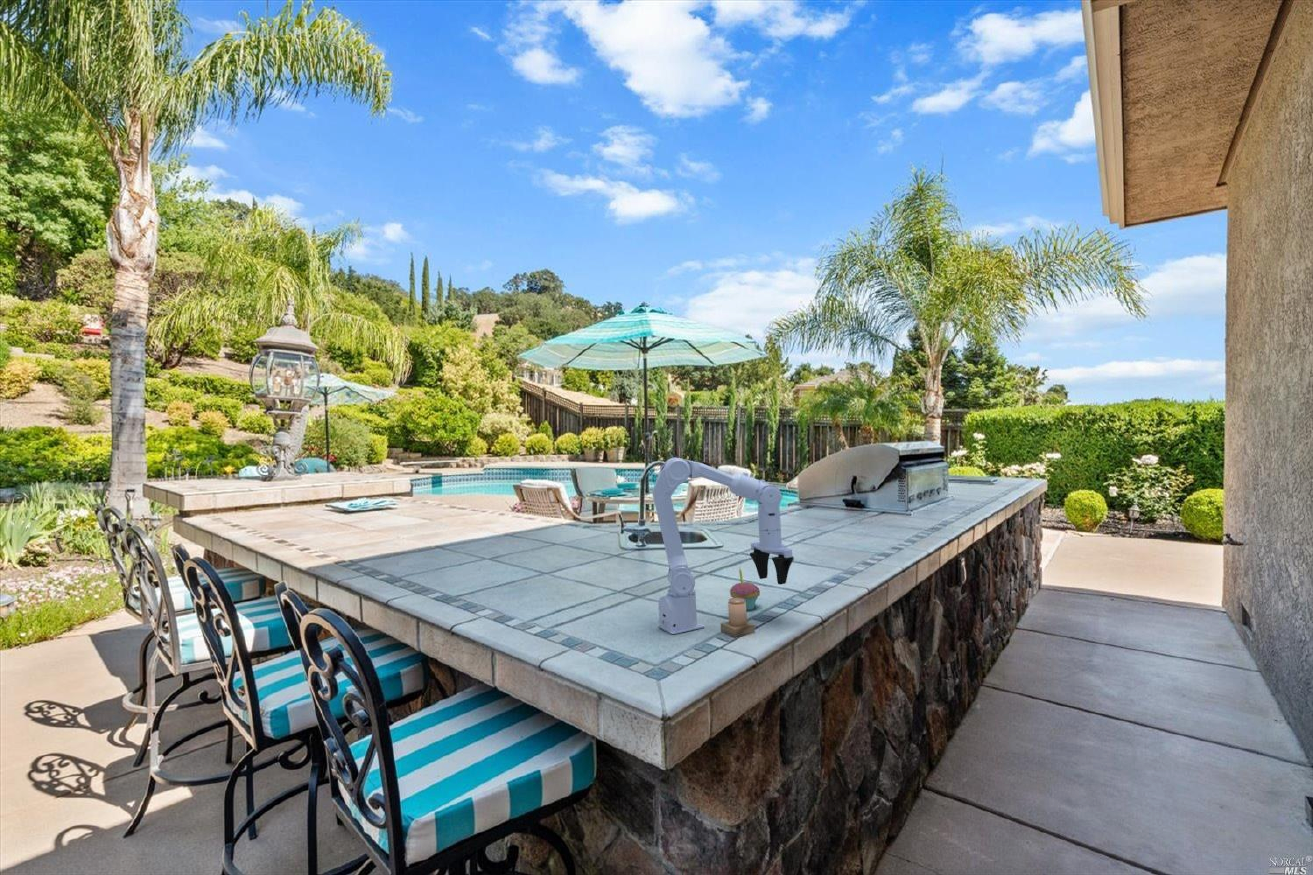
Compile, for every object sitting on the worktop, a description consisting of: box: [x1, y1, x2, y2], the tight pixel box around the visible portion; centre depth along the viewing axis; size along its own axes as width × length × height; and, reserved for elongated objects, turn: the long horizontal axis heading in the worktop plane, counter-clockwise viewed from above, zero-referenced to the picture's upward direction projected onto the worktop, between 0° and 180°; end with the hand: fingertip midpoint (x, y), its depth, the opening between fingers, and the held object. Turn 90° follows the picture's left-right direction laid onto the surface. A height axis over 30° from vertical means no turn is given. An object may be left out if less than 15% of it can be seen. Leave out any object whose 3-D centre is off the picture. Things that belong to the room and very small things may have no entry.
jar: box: [727, 597, 748, 627], centre depth 144 cm, size 4×4×6 cm
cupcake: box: [729, 567, 761, 611], centre depth 164 cm, size 9×8×12 cm
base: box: [720, 620, 756, 639], centre depth 144 cm, size 6×6×2 cm
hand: (772, 580), depth 151 cm, fingers open, 7 cm apart
